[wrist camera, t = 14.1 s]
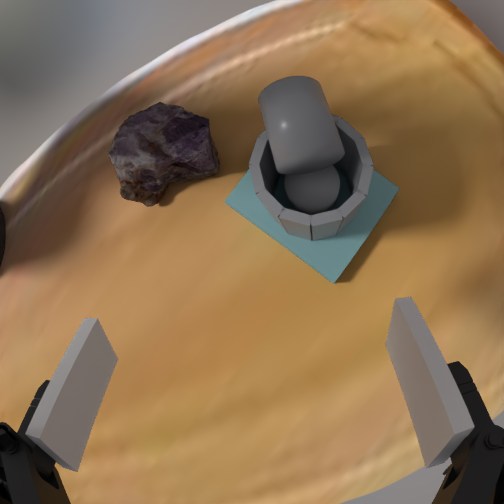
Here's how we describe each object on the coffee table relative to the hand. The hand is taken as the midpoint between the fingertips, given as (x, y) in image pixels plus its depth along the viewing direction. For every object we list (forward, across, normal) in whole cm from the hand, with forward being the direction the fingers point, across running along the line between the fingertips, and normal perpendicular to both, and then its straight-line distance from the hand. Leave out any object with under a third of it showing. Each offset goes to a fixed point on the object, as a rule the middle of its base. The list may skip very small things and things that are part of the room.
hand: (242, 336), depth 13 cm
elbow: (+21, +6, -2) cm, 22 cm away
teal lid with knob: (+22, +6, -2) cm, 23 cm away
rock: (+28, -9, +2) cm, 29 cm away
